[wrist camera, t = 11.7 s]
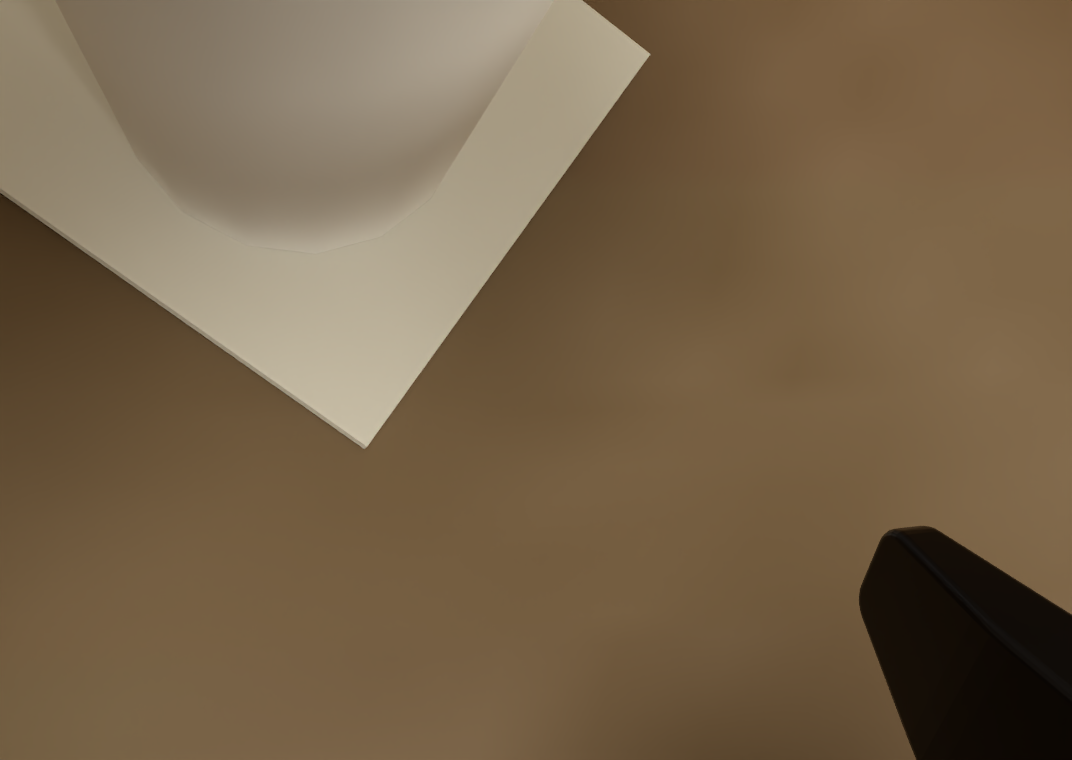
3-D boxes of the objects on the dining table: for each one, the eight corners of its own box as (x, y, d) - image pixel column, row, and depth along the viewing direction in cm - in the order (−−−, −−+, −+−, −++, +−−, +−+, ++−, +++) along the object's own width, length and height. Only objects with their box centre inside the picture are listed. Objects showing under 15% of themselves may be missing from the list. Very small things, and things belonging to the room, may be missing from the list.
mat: (364, 449, 17) (367, 446, 17) (-101, 122, 16) (-113, 109, 16) (641, 65, 20) (650, 53, 19) (248, -243, 19) (247, -264, 18)
